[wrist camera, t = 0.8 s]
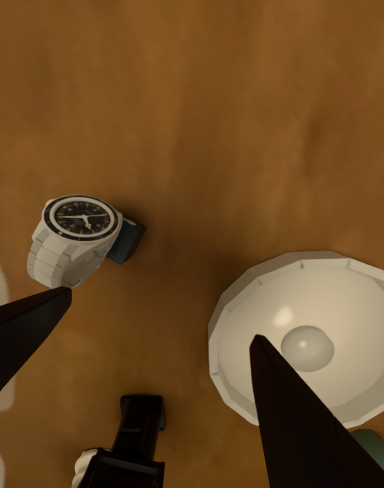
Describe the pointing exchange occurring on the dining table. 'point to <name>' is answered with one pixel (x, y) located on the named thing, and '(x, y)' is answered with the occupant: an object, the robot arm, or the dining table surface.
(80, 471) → the cherub figurine
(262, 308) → the groove tray
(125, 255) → the watch
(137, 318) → the dining table surface
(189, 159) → the dining table surface
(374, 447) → the bead jar
